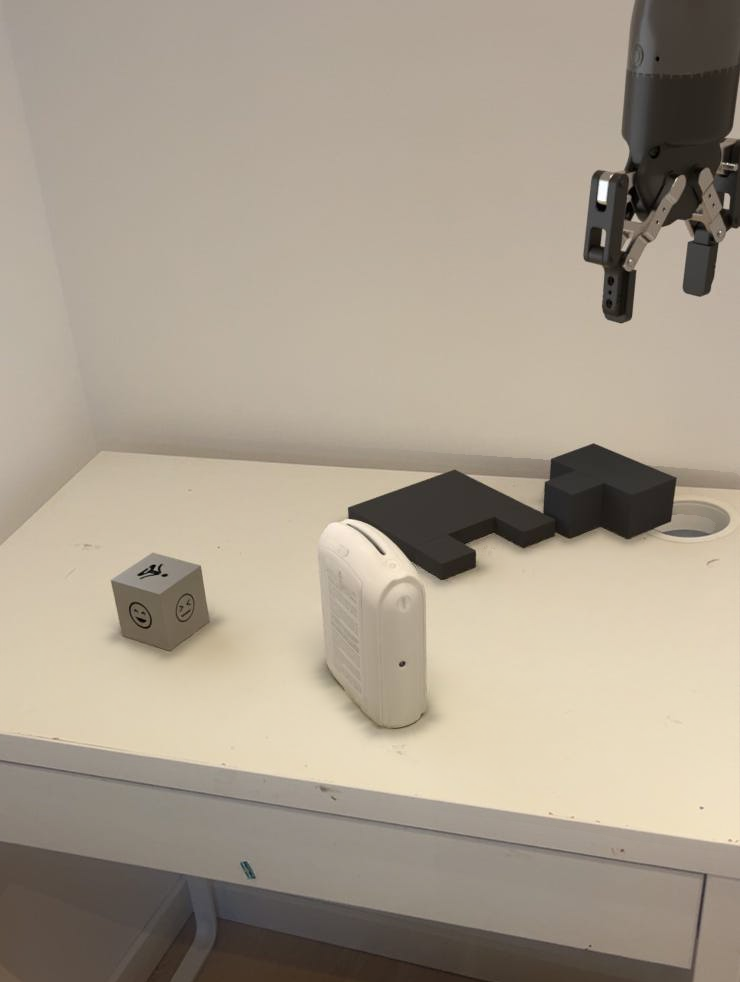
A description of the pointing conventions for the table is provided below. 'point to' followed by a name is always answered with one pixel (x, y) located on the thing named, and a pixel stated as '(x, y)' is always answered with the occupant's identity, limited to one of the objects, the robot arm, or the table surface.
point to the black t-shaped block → (606, 493)
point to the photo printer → (373, 622)
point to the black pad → (450, 520)
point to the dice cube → (160, 601)
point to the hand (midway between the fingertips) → (657, 307)
